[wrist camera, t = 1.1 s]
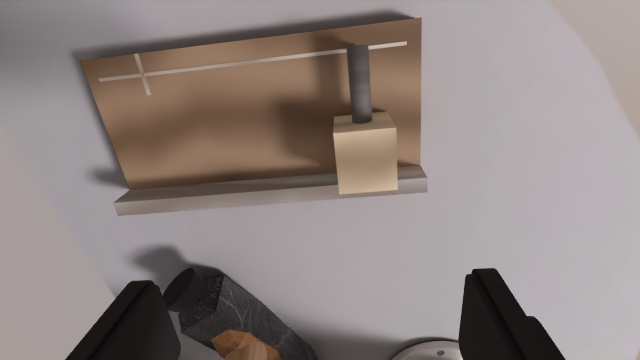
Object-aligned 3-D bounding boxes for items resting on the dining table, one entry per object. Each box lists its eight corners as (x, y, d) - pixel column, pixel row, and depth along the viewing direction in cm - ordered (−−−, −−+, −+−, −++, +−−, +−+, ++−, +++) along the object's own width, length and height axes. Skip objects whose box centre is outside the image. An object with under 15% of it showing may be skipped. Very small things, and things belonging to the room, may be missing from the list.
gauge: (388, 165, 27) (397, 189, 23) (339, 169, 27) (339, 194, 23) (384, 41, 23) (394, 44, 19) (327, 48, 23) (324, 52, 19)
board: (415, 170, 29) (427, 192, 25) (145, 192, 31) (118, 215, 28) (415, 18, 24) (430, 16, 20) (95, 58, 26) (54, 64, 23)
